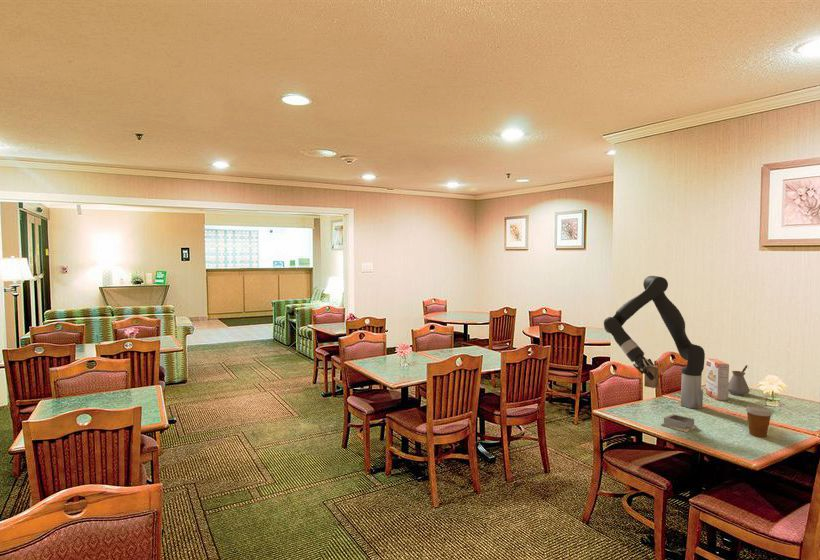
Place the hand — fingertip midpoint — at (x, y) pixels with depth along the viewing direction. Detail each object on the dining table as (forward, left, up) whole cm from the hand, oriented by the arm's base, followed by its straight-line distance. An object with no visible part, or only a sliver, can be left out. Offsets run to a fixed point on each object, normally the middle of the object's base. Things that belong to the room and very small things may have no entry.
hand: (655, 378), depth 234 cm
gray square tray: (-6, +11, -20) cm, 24 cm away
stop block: (+1, -1, -4) cm, 5 cm away
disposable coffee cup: (-36, +20, -20) cm, 46 cm away
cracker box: (-53, -40, -20) cm, 69 cm away
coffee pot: (-74, -52, -20) cm, 93 cm away
